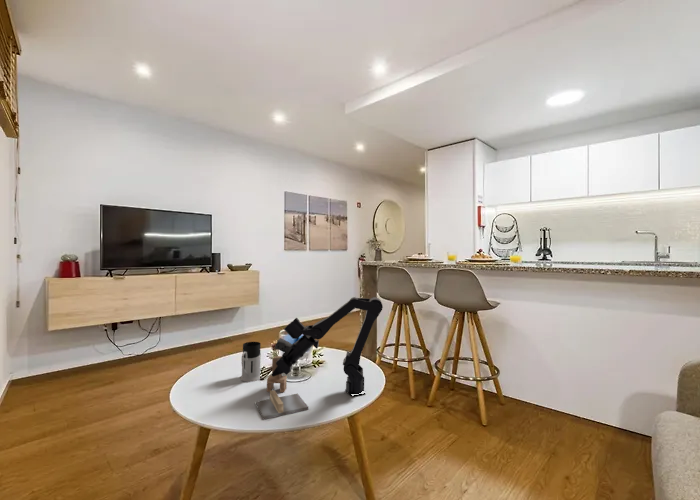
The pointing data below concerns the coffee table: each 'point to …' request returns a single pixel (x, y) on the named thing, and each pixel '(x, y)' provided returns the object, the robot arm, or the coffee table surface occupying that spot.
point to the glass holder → (251, 361)
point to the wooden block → (276, 378)
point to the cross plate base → (287, 406)
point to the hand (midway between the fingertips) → (273, 373)
